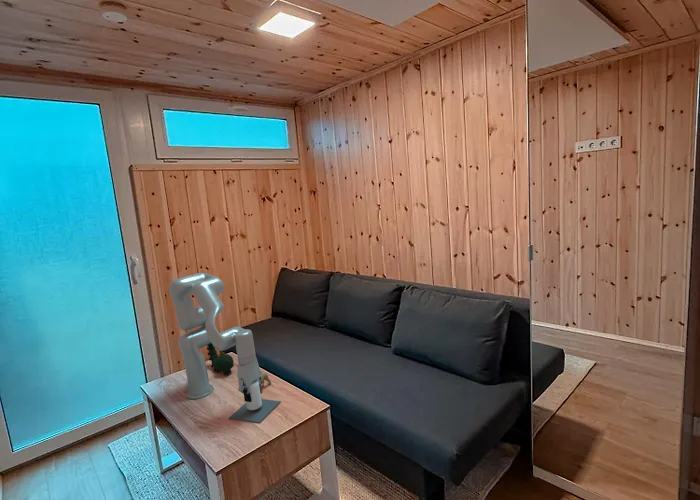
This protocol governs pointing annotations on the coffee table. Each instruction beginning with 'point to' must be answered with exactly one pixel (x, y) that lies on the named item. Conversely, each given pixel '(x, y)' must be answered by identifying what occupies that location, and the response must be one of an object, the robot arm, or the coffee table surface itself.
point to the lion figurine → (263, 377)
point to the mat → (255, 412)
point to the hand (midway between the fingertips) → (253, 396)
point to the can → (254, 397)
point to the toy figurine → (220, 361)
